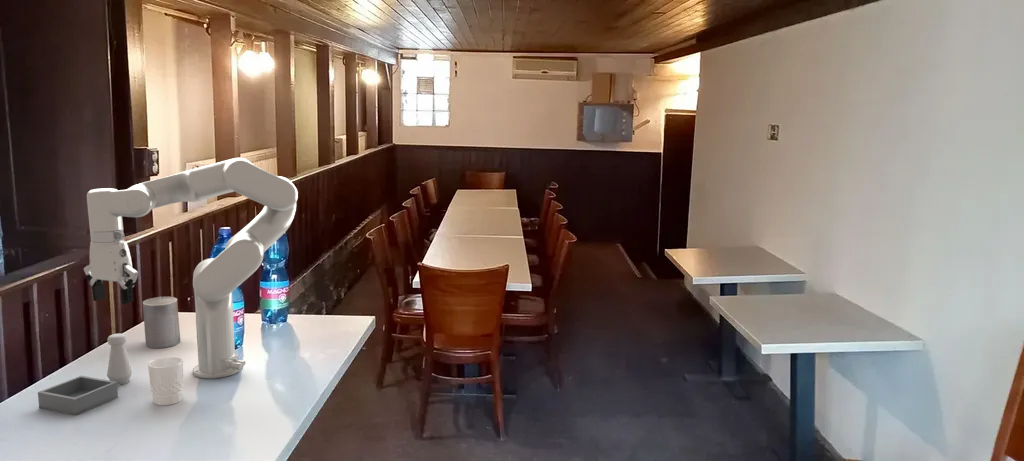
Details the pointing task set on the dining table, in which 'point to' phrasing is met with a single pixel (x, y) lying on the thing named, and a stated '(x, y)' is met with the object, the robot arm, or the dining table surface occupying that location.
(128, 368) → the salt shaker
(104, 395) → the box
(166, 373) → the white cup
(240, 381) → the dining table surface
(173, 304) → the pillar candle
